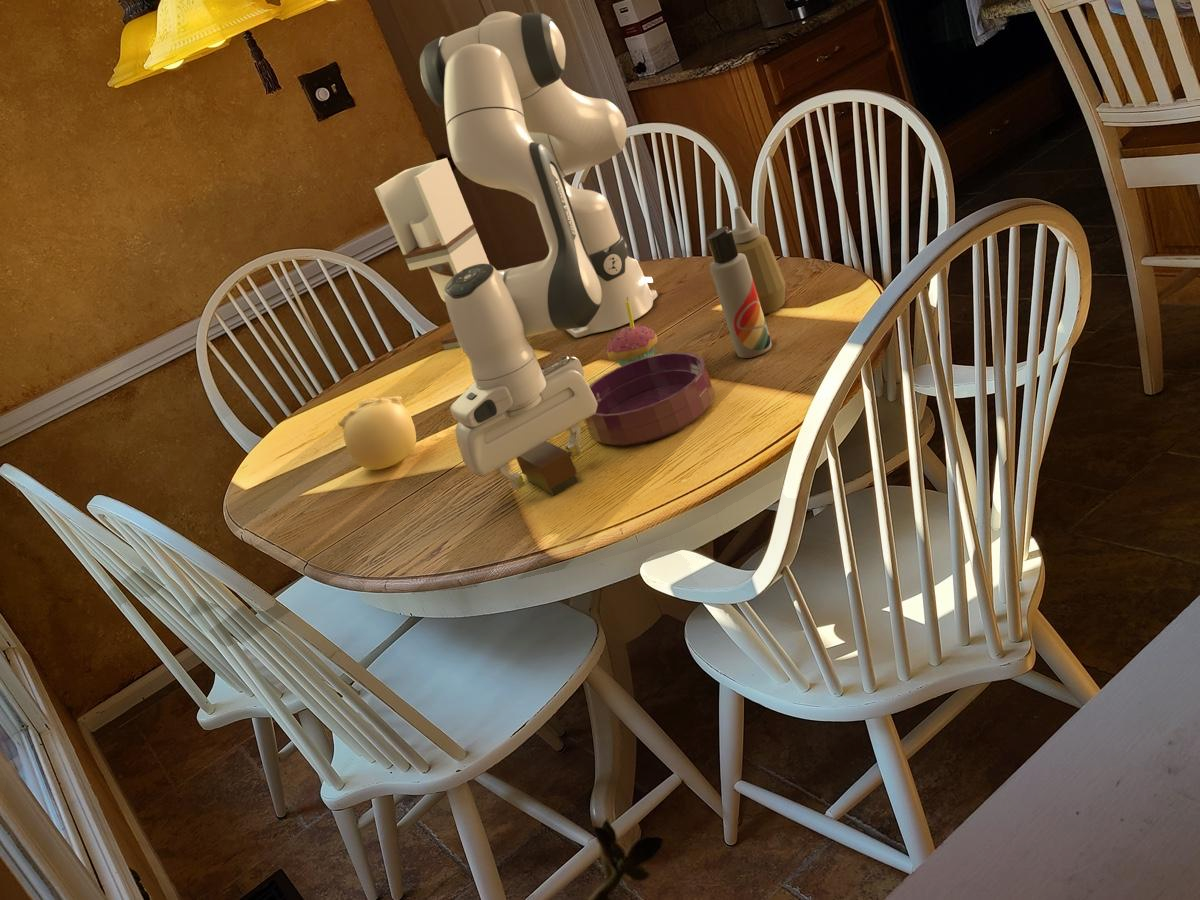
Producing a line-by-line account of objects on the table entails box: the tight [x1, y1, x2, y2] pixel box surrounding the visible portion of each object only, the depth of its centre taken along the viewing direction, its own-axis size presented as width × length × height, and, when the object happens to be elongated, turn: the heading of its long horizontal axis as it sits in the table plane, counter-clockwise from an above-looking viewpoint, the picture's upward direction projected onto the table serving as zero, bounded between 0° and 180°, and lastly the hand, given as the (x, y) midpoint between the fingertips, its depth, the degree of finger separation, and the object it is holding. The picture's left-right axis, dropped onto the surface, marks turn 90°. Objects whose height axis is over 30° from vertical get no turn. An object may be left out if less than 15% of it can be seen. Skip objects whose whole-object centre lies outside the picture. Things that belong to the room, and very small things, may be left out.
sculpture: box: [337, 395, 417, 471], centre depth 182 cm, size 11×12×11 cm
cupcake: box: [605, 296, 659, 367], centre depth 180 cm, size 9×8×12 cm
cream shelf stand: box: [374, 157, 490, 351], centre depth 224 cm, size 11×11×35 cm
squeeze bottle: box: [731, 205, 786, 315], centre depth 183 cm, size 8×8×18 cm
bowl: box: [584, 351, 715, 447], centre depth 163 cm, size 19×19×6 cm
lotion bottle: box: [706, 225, 772, 359], centre depth 169 cm, size 6×6×20 cm
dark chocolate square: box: [515, 440, 579, 496], centre depth 155 cm, size 9×4×5 cm, turn 29°
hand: (547, 470), depth 155 cm, fingers open, 8 cm apart
